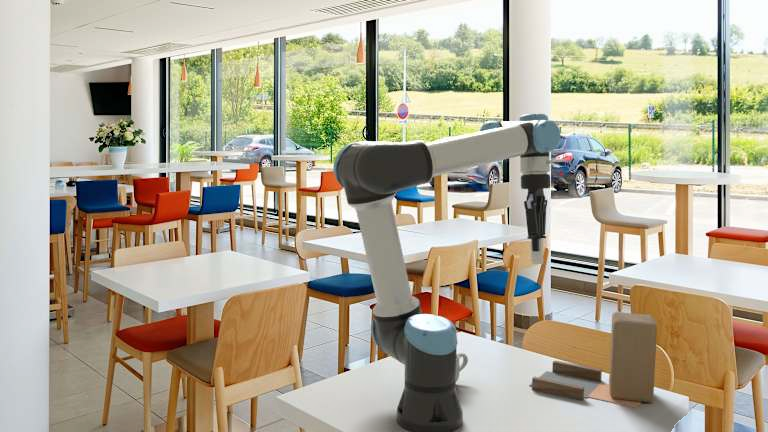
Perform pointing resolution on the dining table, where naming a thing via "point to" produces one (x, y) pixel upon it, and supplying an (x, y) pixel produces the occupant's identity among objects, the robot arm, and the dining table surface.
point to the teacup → (459, 368)
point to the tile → (604, 394)
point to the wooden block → (632, 357)
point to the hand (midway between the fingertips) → (537, 263)
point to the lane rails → (565, 388)
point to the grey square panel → (572, 381)
